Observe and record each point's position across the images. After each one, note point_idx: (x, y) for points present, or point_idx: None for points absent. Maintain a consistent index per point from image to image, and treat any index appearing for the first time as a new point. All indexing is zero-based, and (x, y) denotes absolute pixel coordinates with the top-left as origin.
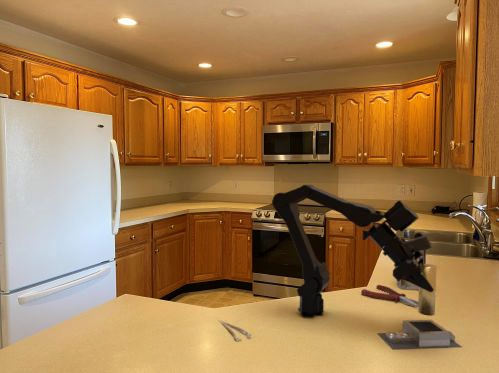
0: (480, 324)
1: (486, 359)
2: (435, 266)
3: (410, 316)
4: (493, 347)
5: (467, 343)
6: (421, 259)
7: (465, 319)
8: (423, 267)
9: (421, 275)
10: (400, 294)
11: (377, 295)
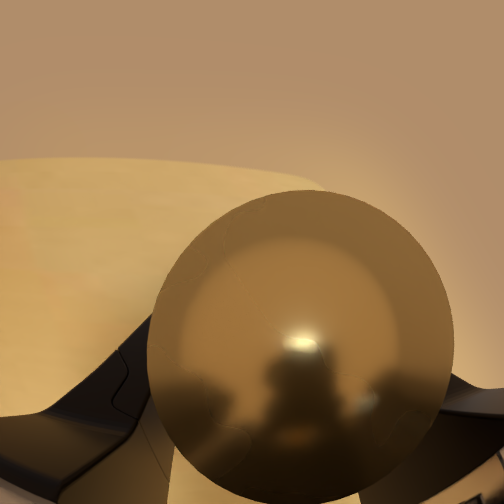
0: (47, 186)
1: (281, 187)
2: (309, 207)
3: (61, 388)
4: (193, 164)
5: (199, 222)
6: (14, 489)
7: (24, 221)
8: (436, 400)
9: (452, 382)
10: None
11: None
